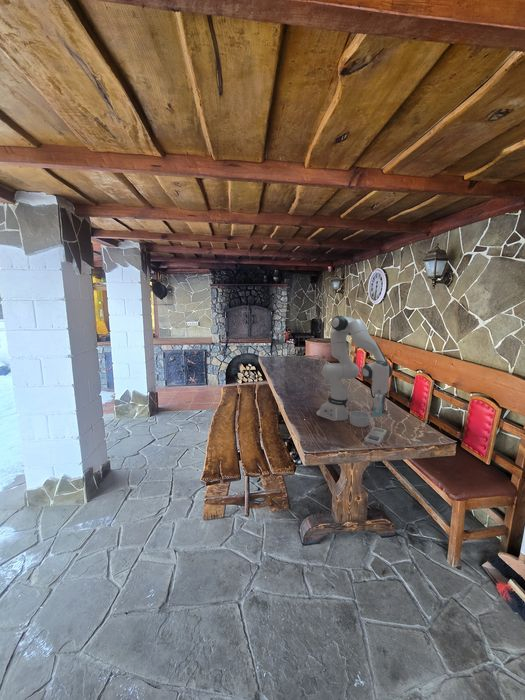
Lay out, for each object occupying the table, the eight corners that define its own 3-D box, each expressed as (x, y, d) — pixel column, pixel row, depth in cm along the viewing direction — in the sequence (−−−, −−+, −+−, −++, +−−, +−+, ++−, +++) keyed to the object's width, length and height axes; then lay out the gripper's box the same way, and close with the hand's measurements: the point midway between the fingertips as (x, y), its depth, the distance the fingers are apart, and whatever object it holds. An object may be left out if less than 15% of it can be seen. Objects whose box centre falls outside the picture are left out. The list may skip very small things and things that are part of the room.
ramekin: (353, 418, 197) (353, 409, 196) (372, 423, 189) (372, 414, 187) (345, 424, 187) (346, 414, 186) (365, 430, 178) (366, 420, 177)
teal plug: (372, 415, 169) (374, 401, 167) (376, 413, 171) (377, 400, 169) (378, 417, 166) (379, 403, 164) (381, 415, 168) (382, 402, 166)
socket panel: (364, 441, 163) (364, 438, 163) (373, 429, 179) (373, 426, 179) (378, 445, 159) (379, 442, 158) (386, 433, 175) (386, 430, 175)
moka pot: (384, 415, 204) (386, 388, 201) (365, 408, 216) (366, 383, 212) (390, 412, 210) (392, 386, 207) (371, 406, 222) (373, 381, 218)
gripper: (384, 394, 155) (382, 417, 157) (386, 384, 173) (384, 405, 175) (372, 392, 157) (370, 415, 160) (375, 383, 176) (373, 404, 178)
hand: (377, 410), depth 168 cm, fingers closed on teal plug, 5 cm apart
